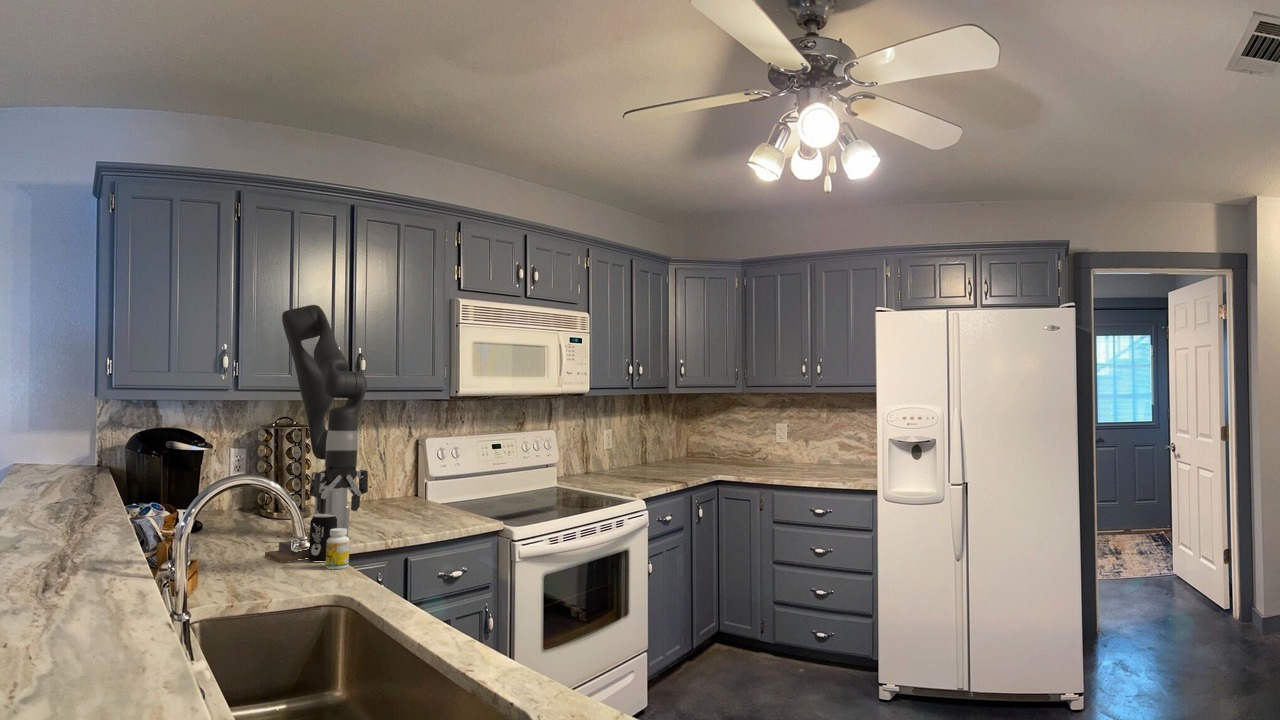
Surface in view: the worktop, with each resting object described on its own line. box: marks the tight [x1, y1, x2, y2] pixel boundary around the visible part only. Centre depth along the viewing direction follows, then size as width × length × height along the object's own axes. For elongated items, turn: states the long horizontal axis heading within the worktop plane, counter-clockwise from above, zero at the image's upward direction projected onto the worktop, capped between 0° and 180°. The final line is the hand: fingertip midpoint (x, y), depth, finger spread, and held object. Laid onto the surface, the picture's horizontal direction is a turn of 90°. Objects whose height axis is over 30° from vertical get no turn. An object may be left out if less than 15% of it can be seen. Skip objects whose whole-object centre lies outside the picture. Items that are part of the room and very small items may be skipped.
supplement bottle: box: [325, 528, 350, 570], centre depth 179 cm, size 5×5×10 cm
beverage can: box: [308, 513, 337, 562], centre depth 186 cm, size 7×7×12 cm
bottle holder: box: [264, 537, 310, 563], centre depth 191 cm, size 14×11×4 cm
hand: (338, 512), depth 179 cm, fingers open, 8 cm apart
